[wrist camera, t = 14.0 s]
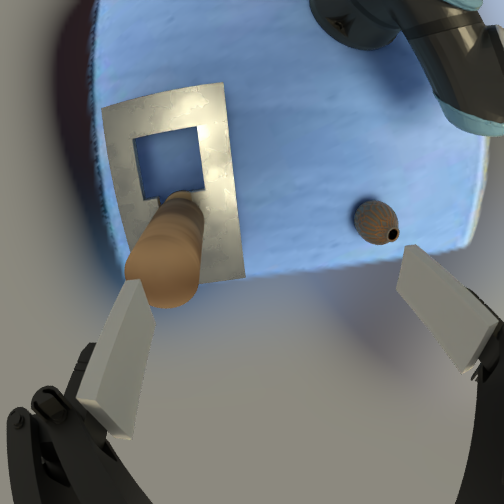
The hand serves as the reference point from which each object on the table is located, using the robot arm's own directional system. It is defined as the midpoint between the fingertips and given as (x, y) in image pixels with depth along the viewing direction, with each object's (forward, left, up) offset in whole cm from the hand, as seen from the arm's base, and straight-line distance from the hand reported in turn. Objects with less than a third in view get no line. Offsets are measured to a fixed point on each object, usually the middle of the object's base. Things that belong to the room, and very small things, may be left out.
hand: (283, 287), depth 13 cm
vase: (+9, +21, -29) cm, 37 cm away
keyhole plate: (0, -8, -29) cm, 30 cm away
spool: (+3, -8, -25) cm, 26 cm away
